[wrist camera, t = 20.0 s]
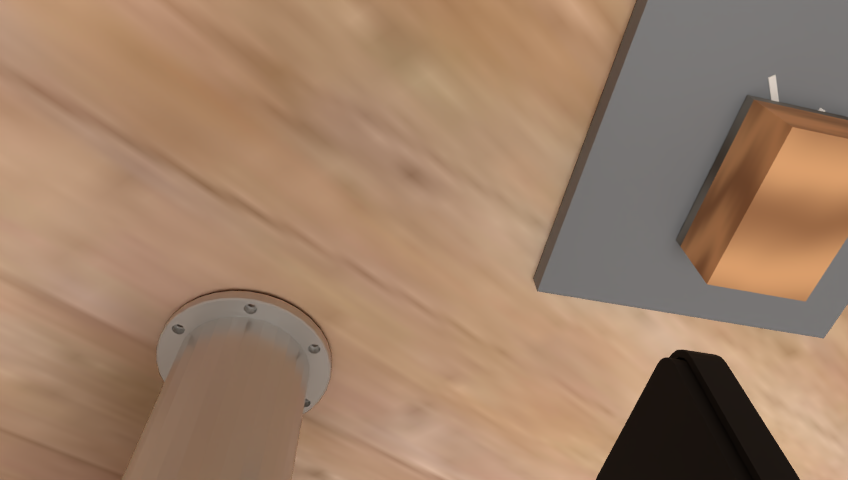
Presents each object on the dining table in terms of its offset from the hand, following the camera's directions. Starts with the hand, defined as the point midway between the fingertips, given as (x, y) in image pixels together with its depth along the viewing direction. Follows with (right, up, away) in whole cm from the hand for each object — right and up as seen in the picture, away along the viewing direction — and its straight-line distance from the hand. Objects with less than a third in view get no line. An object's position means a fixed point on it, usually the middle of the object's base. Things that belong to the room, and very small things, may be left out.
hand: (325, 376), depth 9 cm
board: (+22, +7, +32) cm, 40 cm away
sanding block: (+22, +6, +31) cm, 39 cm away
